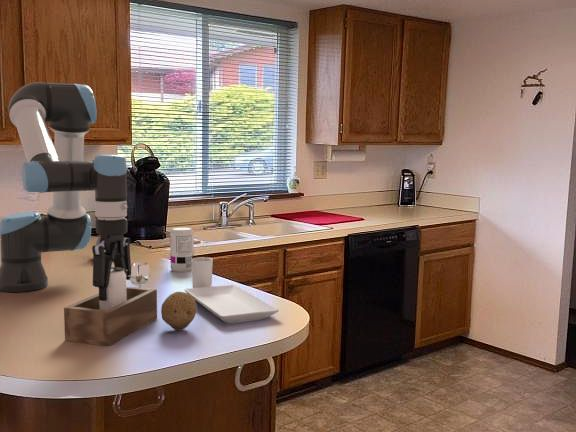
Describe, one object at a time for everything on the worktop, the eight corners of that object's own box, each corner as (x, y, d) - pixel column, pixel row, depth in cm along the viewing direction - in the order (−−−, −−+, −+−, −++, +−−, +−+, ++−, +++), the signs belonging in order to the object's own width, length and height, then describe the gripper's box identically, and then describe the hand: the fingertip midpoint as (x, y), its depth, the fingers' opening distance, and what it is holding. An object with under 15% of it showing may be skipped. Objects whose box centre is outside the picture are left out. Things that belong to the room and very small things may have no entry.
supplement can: (166, 271, 224) (165, 229, 222) (178, 266, 232) (178, 226, 230) (185, 273, 221) (185, 231, 219) (197, 268, 229) (197, 228, 227)
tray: (235, 294, 195) (235, 283, 195) (280, 321, 168) (280, 309, 167) (182, 299, 188) (182, 288, 187) (221, 329, 160) (221, 316, 160)
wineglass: (140, 308, 176) (139, 266, 175) (125, 305, 179) (124, 264, 178) (154, 304, 181) (154, 263, 180) (140, 300, 184) (139, 260, 183)
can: (119, 321, 154) (118, 273, 152) (95, 319, 155) (94, 271, 154) (131, 313, 160) (130, 267, 159) (107, 311, 161) (106, 266, 160)
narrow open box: (64, 340, 149) (63, 307, 148) (117, 314, 171) (116, 285, 170) (109, 346, 145) (108, 312, 144) (157, 318, 167) (156, 289, 166)
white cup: (196, 294, 193) (196, 262, 192) (188, 289, 199) (187, 258, 197) (216, 291, 197) (216, 260, 195) (207, 287, 202) (207, 256, 201)
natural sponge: (195, 336, 153) (195, 296, 152) (158, 336, 153) (158, 296, 151) (197, 325, 162) (197, 287, 161) (162, 325, 162) (162, 287, 160)
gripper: (102, 223, 144) (104, 321, 147) (144, 213, 163) (146, 300, 166) (74, 222, 146) (77, 318, 149) (119, 212, 165) (120, 298, 168)
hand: (113, 308), depth 157 cm, fingers closed on can, 6 cm apart
